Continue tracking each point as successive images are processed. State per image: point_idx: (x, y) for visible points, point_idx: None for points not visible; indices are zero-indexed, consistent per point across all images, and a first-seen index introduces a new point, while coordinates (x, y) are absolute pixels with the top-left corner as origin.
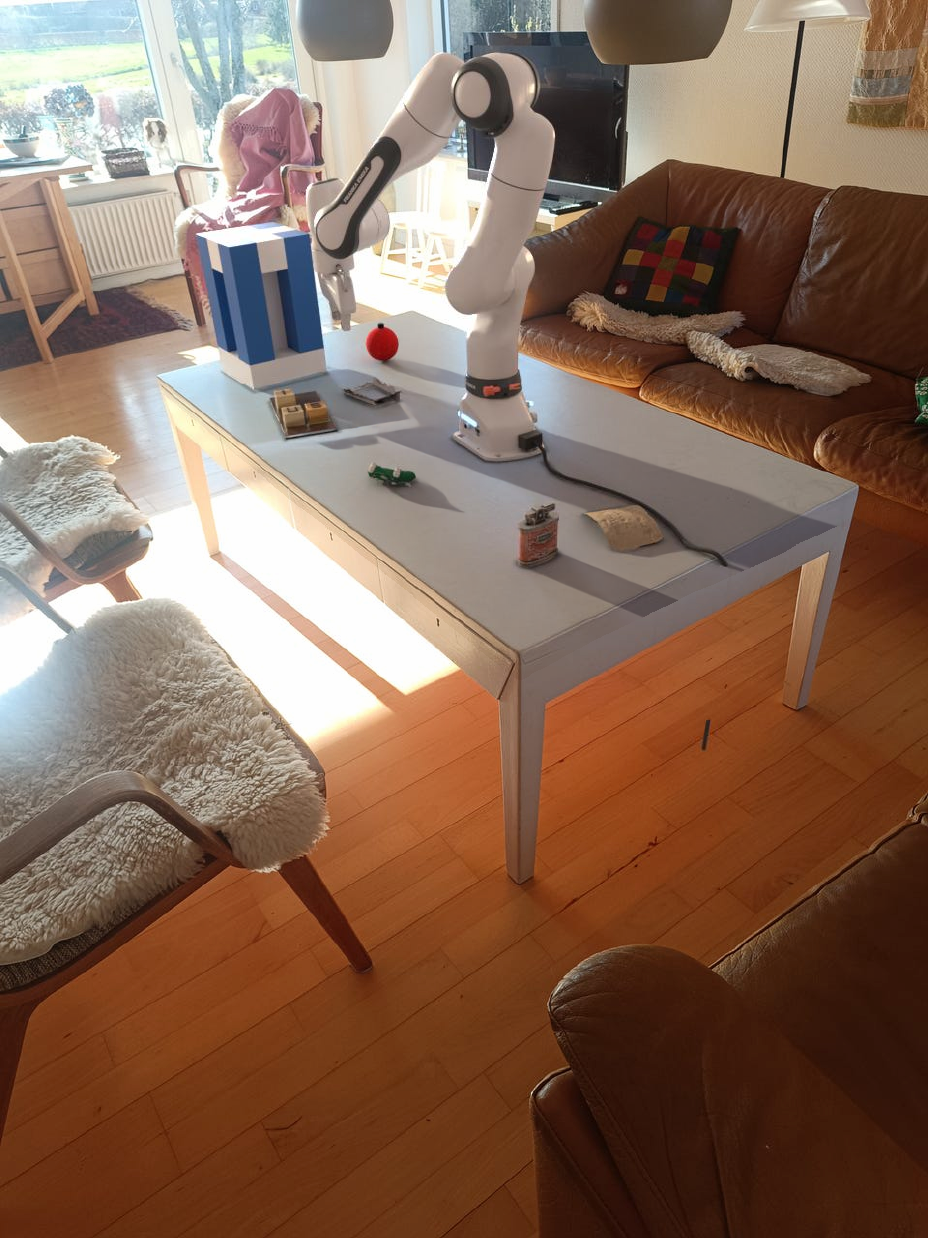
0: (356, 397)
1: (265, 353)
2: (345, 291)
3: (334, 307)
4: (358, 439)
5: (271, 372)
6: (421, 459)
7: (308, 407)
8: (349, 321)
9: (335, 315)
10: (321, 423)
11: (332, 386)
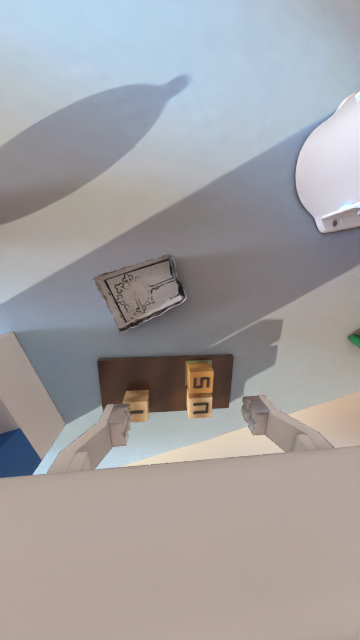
0: (145, 316)
1: (16, 452)
2: (230, 545)
3: (97, 451)
4: (262, 337)
5: (39, 420)
6: (344, 287)
7: (203, 391)
8: (284, 415)
9: (127, 429)
10: (213, 370)
11: (72, 333)
